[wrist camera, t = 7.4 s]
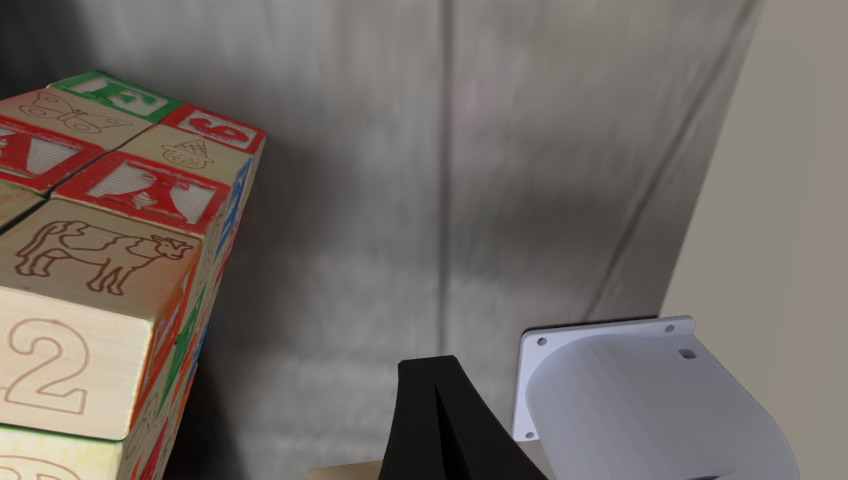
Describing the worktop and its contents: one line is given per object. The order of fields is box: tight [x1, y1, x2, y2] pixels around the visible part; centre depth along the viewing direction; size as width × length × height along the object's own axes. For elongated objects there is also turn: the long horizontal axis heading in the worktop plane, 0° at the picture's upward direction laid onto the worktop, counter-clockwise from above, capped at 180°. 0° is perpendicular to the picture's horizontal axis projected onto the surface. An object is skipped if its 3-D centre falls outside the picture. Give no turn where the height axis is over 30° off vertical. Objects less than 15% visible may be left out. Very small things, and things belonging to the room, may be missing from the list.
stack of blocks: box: [0, 71, 267, 480], centre depth 16 cm, size 21×6×12 cm, turn 157°
